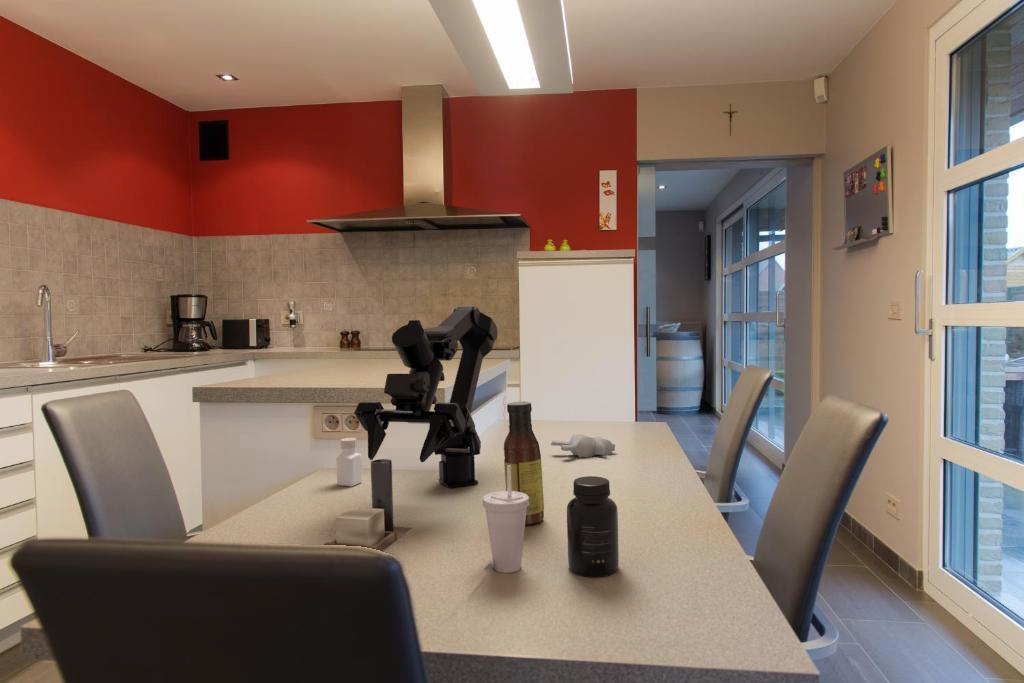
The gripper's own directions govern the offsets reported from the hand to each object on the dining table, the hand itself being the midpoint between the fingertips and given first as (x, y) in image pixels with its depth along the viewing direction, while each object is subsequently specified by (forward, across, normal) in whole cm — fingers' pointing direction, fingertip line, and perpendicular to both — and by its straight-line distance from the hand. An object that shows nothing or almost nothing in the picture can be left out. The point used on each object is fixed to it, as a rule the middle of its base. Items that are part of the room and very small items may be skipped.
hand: (395, 459), depth 101 cm
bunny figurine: (-33, +22, +49) cm, 63 cm away
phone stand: (+14, 0, +2) cm, 14 cm away
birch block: (+15, 0, -1) cm, 15 cm away
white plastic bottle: (-8, -22, +24) cm, 34 cm away
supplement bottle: (+14, +33, +2) cm, 36 cm away
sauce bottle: (+2, +20, +14) cm, 24 cm away
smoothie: (+16, +22, 0) cm, 27 cm away
